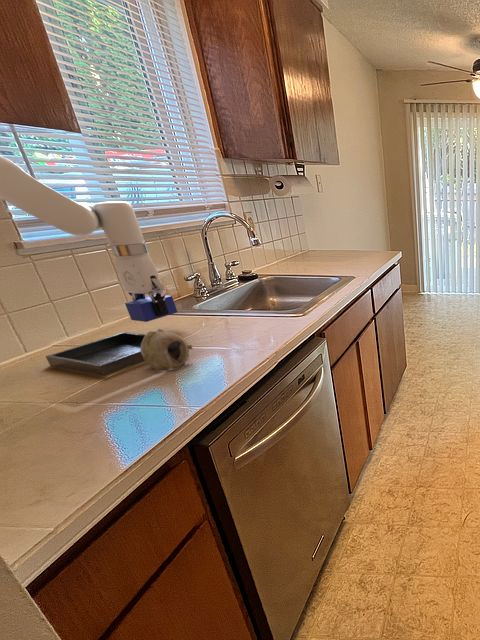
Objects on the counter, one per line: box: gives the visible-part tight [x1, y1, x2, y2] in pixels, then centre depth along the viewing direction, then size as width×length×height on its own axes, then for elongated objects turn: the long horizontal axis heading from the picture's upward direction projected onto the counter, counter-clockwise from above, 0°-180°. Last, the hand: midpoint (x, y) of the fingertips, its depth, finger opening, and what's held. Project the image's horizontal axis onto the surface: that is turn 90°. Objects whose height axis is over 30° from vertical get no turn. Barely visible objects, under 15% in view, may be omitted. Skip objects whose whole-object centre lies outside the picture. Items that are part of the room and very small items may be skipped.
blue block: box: [124, 294, 178, 323], centre depth 114 cm, size 6×9×5 cm, turn 162°
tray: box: [45, 331, 146, 377], centre depth 101 cm, size 20×18×3 cm
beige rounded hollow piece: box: [141, 328, 194, 371], centre depth 96 cm, size 9×8×10 cm
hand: (154, 313), depth 115 cm, fingers closed on blue block, 6 cm apart
